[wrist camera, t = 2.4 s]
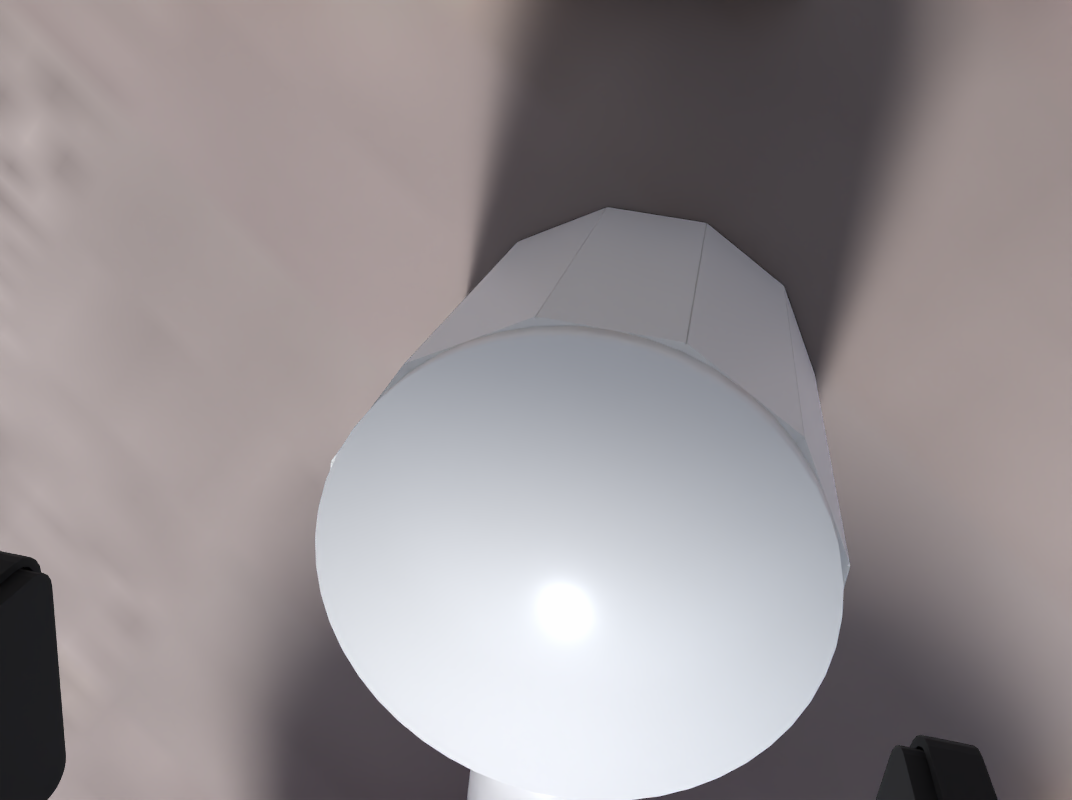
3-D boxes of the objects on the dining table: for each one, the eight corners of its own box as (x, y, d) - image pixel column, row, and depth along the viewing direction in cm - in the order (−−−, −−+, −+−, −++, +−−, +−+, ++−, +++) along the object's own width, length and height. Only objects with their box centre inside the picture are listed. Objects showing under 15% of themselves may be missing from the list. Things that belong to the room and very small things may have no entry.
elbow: (846, 245, 19) (908, 395, 12) (734, 700, 24) (730, 1014, 16) (475, 186, 20) (324, 291, 13) (432, 633, 25) (300, 901, 17)
